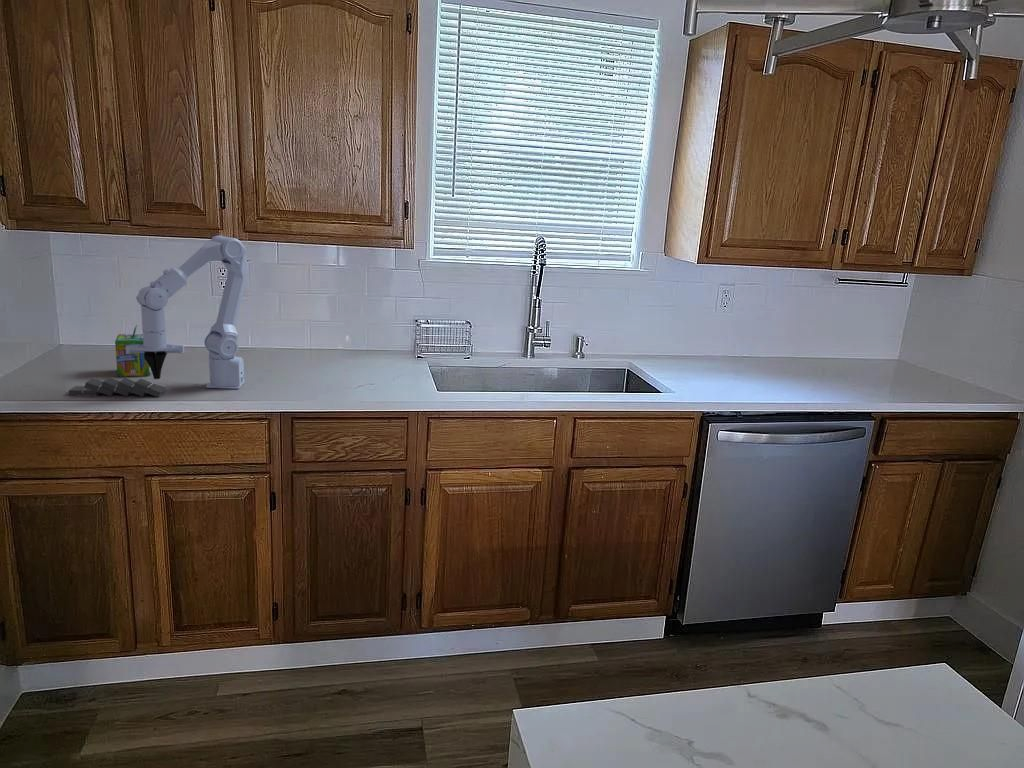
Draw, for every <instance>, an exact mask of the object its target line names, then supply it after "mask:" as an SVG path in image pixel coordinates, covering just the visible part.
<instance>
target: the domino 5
mask: <svg viewBox="0 0 1024 768" xmlns="http://www.w3.org/2000/svg"><path fill="white" fill-rule="evenodd" d="M133 388H136V389H138V390H141V391H143V392H146V393H147V394H148V395H151V396H153V397H156V398H160V397H161V396H162V395H163V394H164V393H165V391H166V387H164V386H161V385H158V384H156V383H154V382H151V381H149V380H146V379H143V378H139V379H138V380H137V381H135V384H134V387H133Z"/></svg>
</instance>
